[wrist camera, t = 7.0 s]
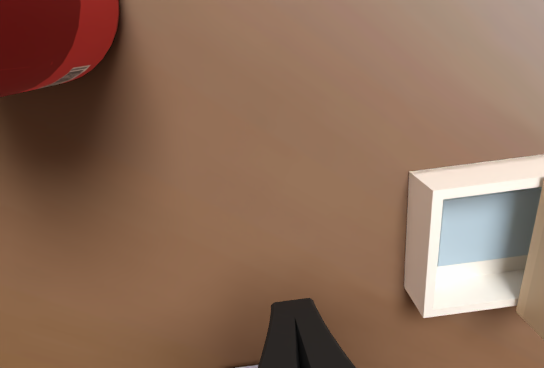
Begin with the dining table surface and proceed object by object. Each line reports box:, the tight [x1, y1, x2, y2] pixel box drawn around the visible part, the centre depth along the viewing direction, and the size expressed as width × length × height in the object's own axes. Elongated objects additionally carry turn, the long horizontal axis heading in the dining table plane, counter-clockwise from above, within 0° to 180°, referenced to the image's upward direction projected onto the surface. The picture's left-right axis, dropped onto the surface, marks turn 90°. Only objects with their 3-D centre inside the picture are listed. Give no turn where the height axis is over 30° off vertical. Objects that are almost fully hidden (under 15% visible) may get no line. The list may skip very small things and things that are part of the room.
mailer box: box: [404, 154, 544, 318], centre depth 21 cm, size 11×9×3 cm
